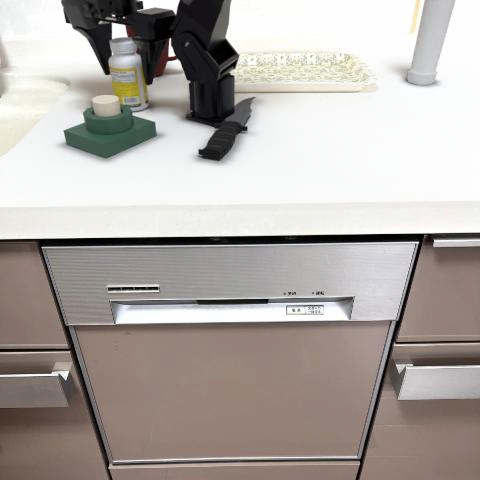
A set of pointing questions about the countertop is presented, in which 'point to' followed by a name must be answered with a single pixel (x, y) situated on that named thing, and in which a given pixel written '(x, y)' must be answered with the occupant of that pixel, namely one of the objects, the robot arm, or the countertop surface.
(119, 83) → the supplement bottle
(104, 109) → the cream short cylinder
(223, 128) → the knife
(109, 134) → the green peg holder
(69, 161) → the countertop surface
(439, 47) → the white tall cylinder
